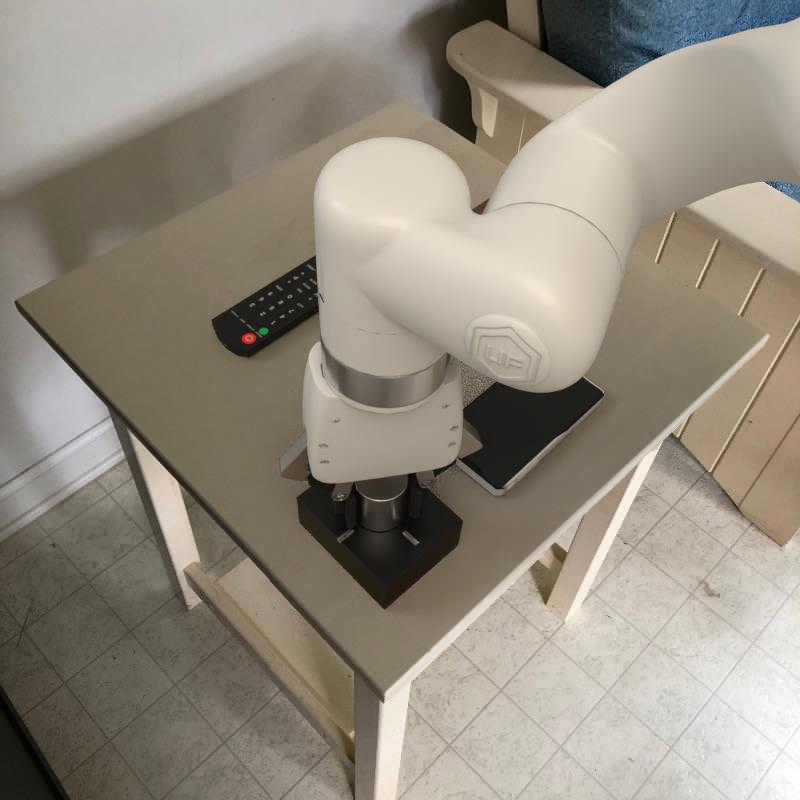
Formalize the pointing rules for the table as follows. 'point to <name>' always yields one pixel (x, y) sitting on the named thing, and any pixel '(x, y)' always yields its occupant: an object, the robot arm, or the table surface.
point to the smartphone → (522, 429)
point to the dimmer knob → (381, 501)
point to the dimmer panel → (382, 543)
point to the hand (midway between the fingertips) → (379, 505)
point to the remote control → (269, 310)
